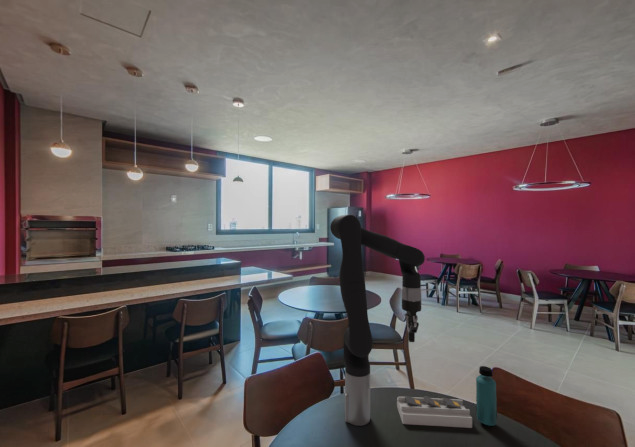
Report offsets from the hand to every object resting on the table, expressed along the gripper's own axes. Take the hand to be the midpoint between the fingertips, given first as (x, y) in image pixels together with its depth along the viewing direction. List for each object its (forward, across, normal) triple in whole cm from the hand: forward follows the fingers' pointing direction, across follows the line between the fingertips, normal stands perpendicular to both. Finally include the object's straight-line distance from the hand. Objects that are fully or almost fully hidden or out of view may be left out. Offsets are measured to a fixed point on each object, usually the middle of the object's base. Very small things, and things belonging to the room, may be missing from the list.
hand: (411, 341), depth 114 cm
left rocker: (+20, +7, -1) cm, 21 cm away
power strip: (+25, +7, +6) cm, 27 cm away
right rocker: (+20, +7, +13) cm, 25 cm away
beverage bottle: (+25, +9, +24) cm, 36 cm away
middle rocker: (+20, +7, +6) cm, 22 cm away
